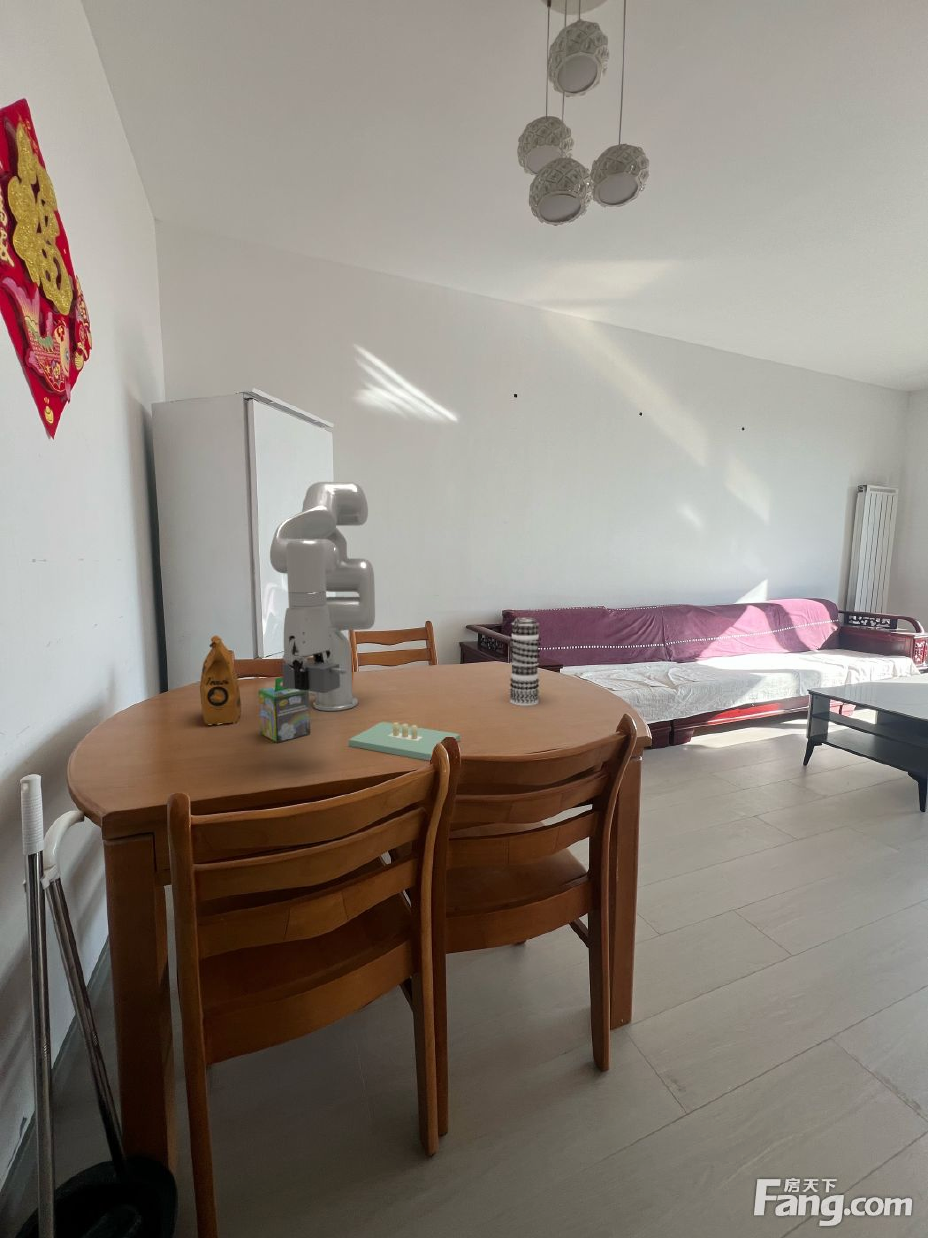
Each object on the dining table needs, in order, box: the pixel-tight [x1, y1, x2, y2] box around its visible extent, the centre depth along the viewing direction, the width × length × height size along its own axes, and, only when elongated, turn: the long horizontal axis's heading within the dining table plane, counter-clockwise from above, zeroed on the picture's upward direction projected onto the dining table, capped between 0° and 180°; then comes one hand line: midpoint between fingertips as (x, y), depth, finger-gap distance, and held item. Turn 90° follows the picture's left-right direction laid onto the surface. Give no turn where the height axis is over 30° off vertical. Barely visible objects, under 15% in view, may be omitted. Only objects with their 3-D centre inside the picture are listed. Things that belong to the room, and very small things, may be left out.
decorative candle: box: [509, 617, 542, 707], centre depth 159 cm, size 9×9×25 cm
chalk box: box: [257, 676, 311, 744], centre depth 132 cm, size 9×9×15 cm
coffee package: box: [199, 635, 242, 725], centre depth 144 cm, size 10×12×22 cm
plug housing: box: [281, 659, 346, 693], centre depth 113 cm, size 14×5×5 cm, turn 66°
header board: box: [348, 721, 461, 762], centre depth 127 cm, size 22×14×4 cm, turn 66°
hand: (311, 685), depth 114 cm, fingers closed on plug housing, 5 cm apart
